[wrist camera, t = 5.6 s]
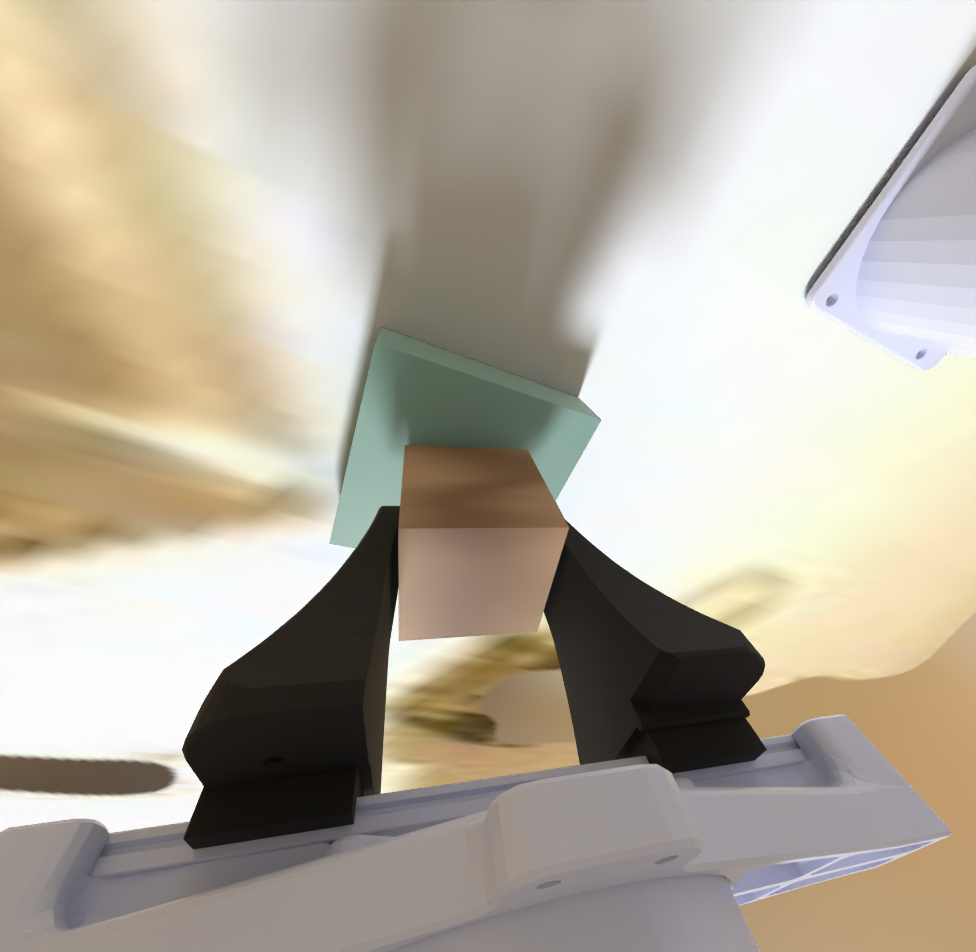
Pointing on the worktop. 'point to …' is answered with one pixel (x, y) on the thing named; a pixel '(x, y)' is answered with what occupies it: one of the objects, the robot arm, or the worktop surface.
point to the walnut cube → (474, 542)
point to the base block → (449, 423)
